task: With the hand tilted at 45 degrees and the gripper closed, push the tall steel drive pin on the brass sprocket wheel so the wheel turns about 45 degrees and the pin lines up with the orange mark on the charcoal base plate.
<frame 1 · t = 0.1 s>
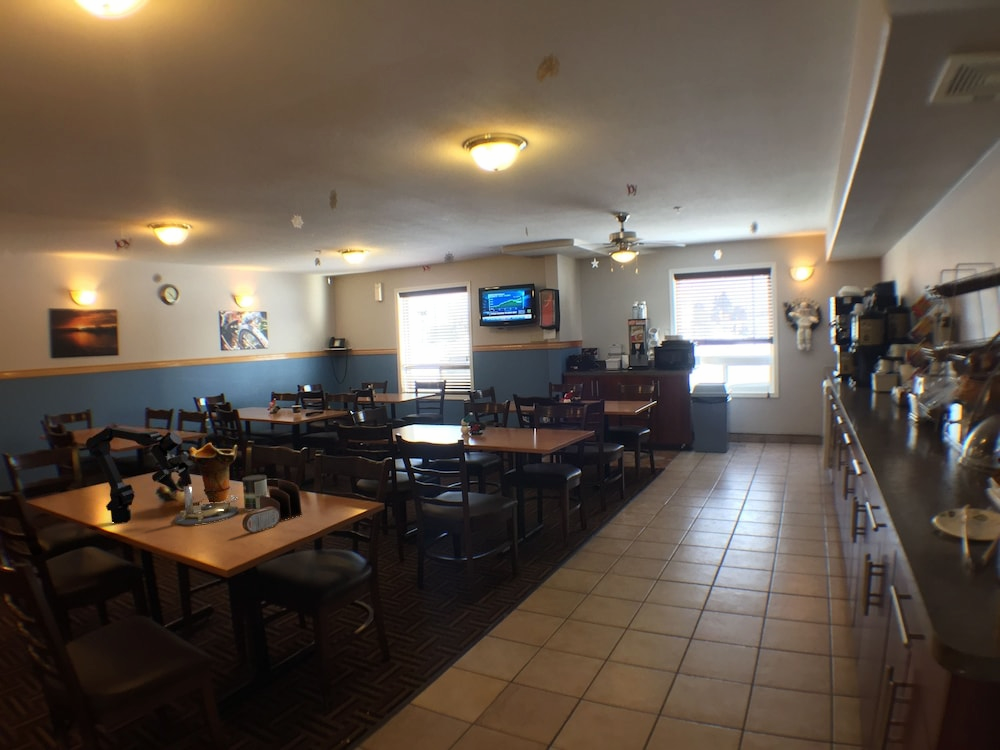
hand: (183, 487, 253), 15 cm above the table, tool tilted 35°, fingers open, 9 cm apart
letter holder: (280, 515, 257), on the table
base plate: (207, 516, 260), on the table
decorative vase: (217, 501, 286), on the table
tin: (262, 530, 237), on the table
coffee can: (256, 508, 270), on the table
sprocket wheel: (205, 497, 259), point 8 cm above the table, hinge at 0.0°
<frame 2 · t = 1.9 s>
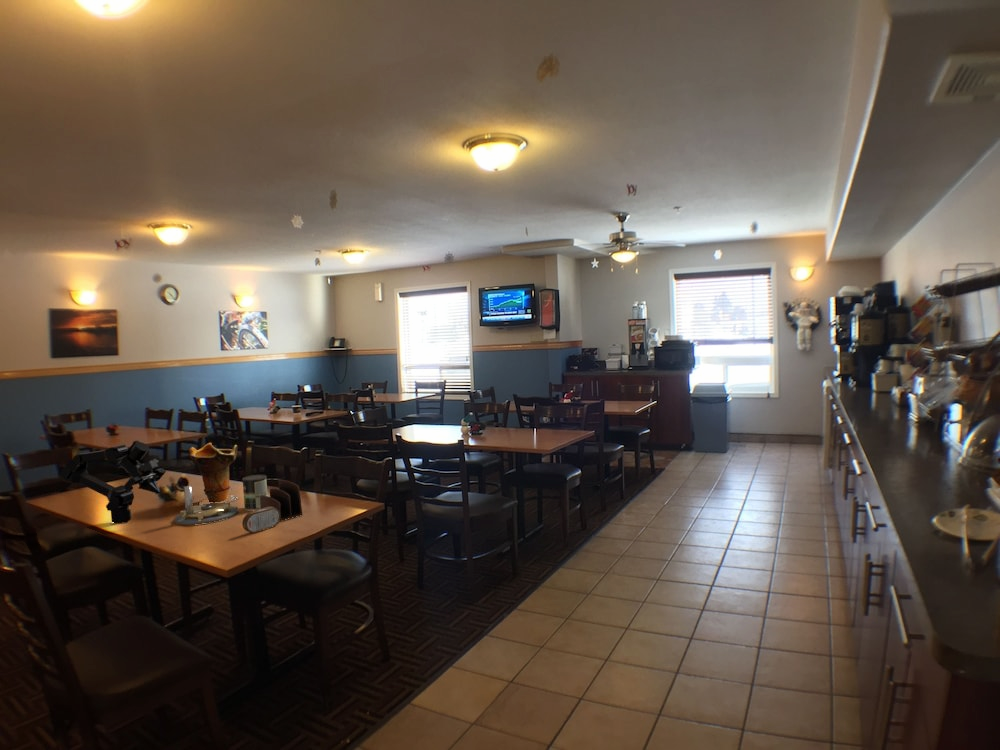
hand: (159, 492, 254), 13 cm above the table, tool tilted 45°, fingers closed
nothing on the table moved.
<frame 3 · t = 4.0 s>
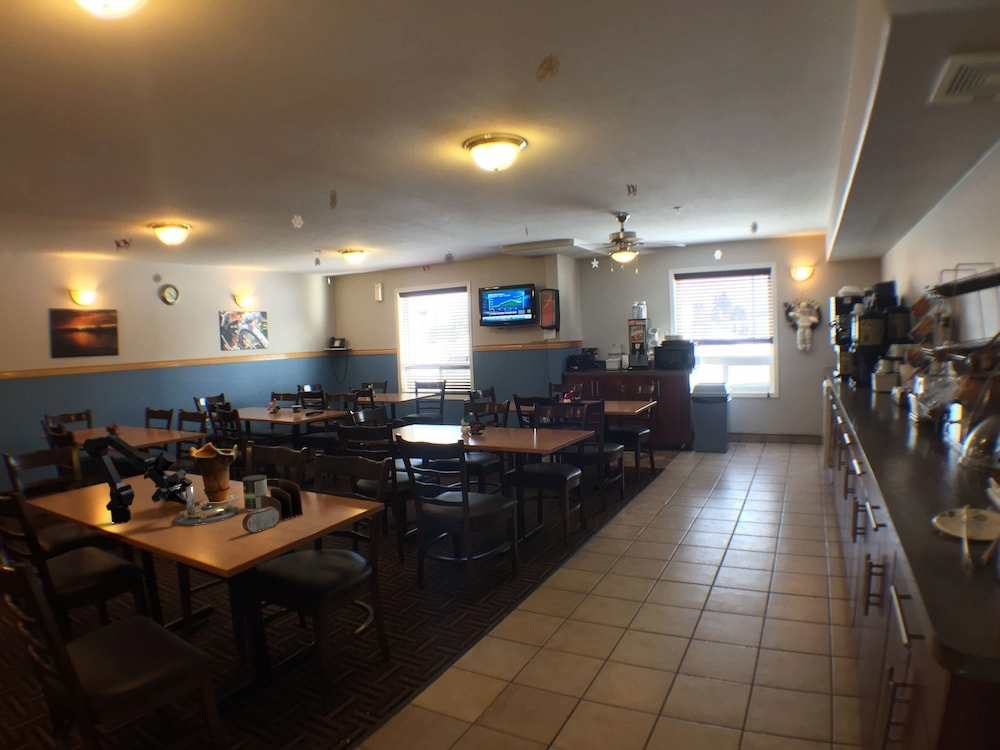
hand: (185, 504, 252), 8 cm above the table, tool tilted 45°, fingers closed, pressing on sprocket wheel
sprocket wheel: (205, 497, 259), point 8 cm above the table, hinge at 7.6°, touching gripper
everything else where it was.
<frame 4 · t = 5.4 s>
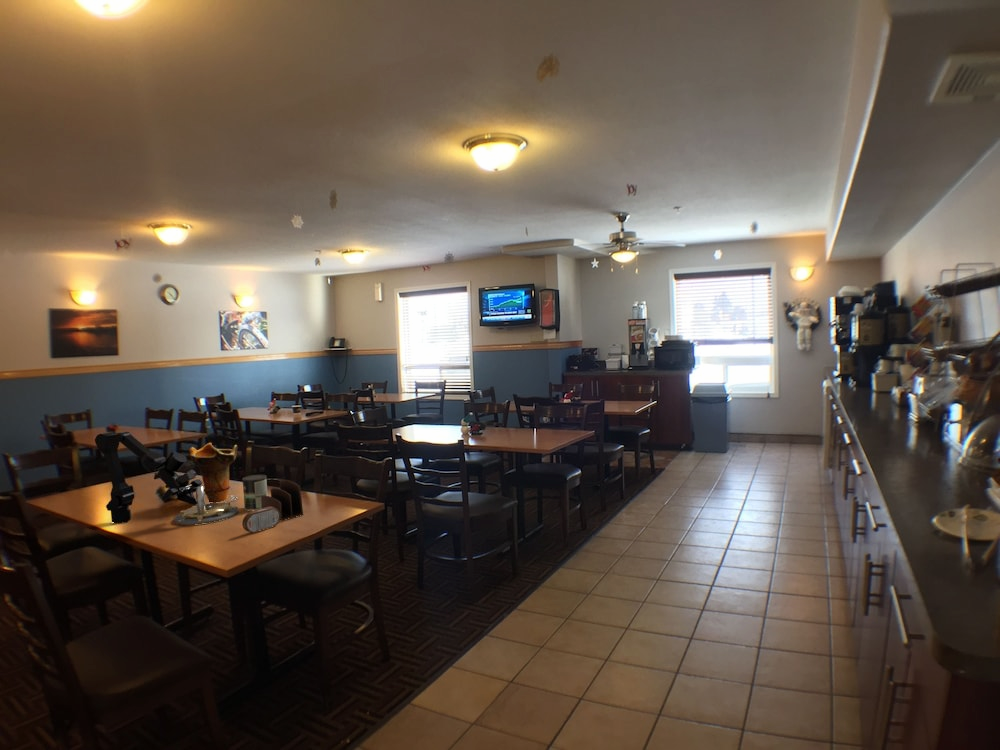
hand: (196, 504, 251), 8 cm above the table, tool tilted 45°, fingers closed
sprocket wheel: (205, 497, 259), point 8 cm above the table, hinge at 43.7°, touching gripper
everything else where it was.
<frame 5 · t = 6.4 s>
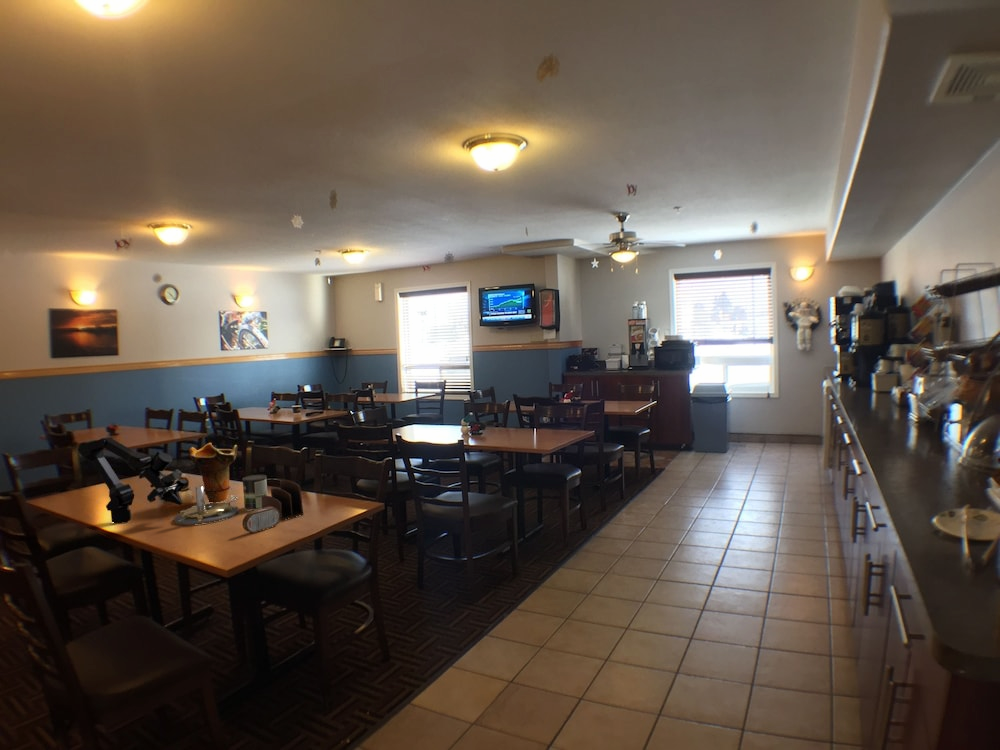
hand: (181, 504, 253), 8 cm above the table, tool tilted 45°, fingers closed
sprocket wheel: (205, 497, 259), point 8 cm above the table, hinge at 43.9°
everything else where it was.
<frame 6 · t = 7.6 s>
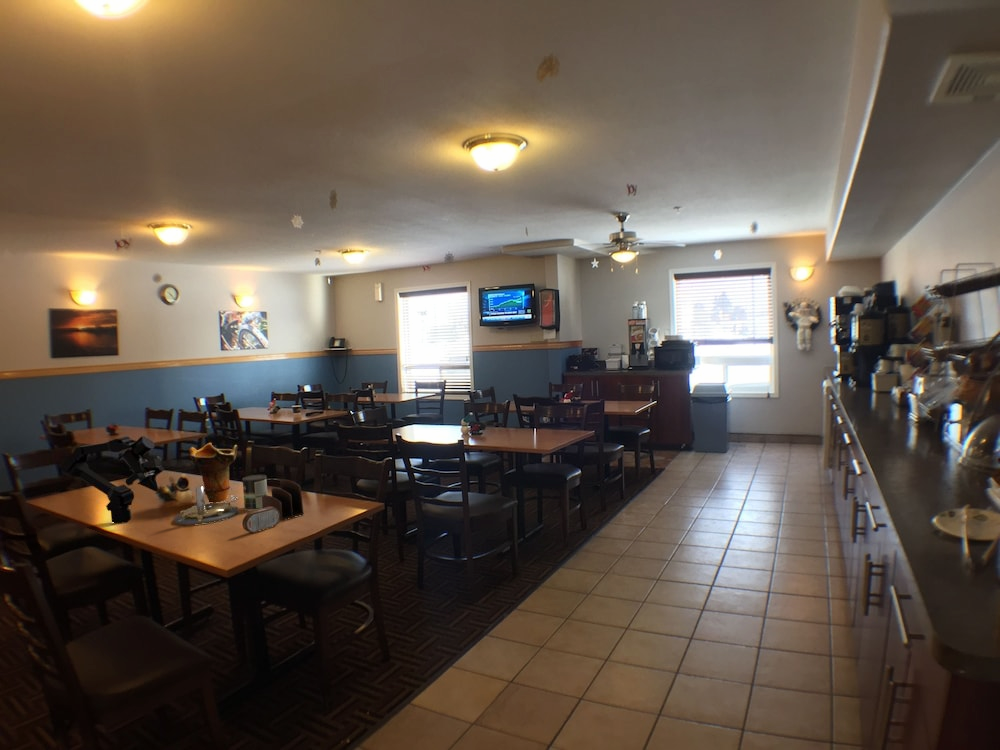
hand: (157, 490, 256), 13 cm above the table, tool tilted 35°, fingers closed
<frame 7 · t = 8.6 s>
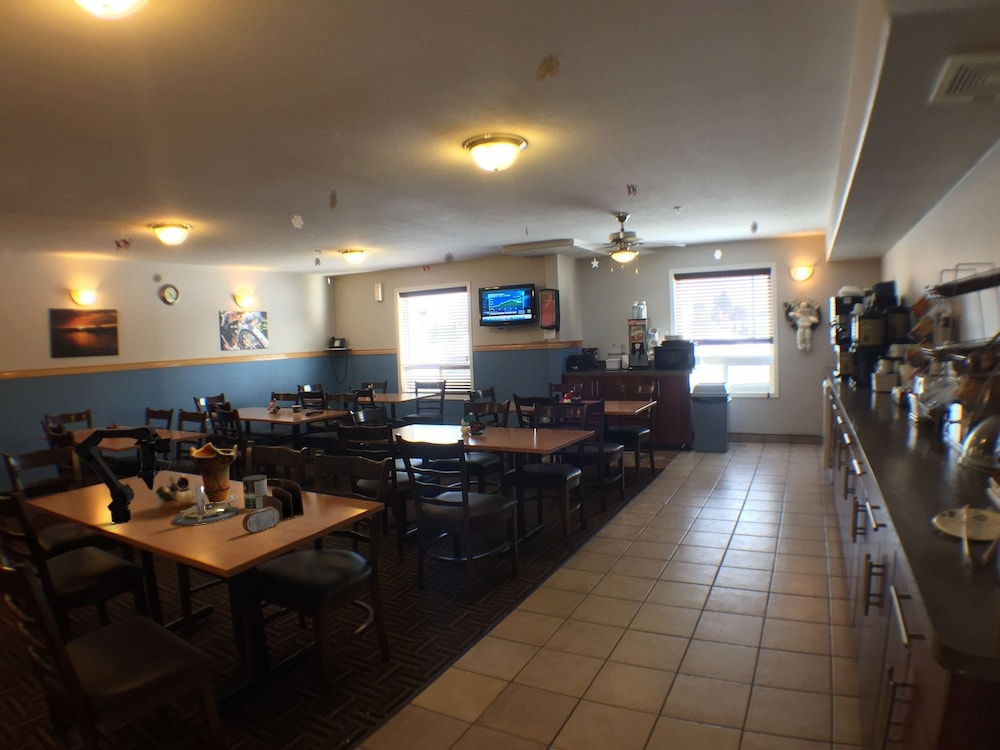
hand: (151, 489, 259), 13 cm above the table, tool pointing down, fingers closed
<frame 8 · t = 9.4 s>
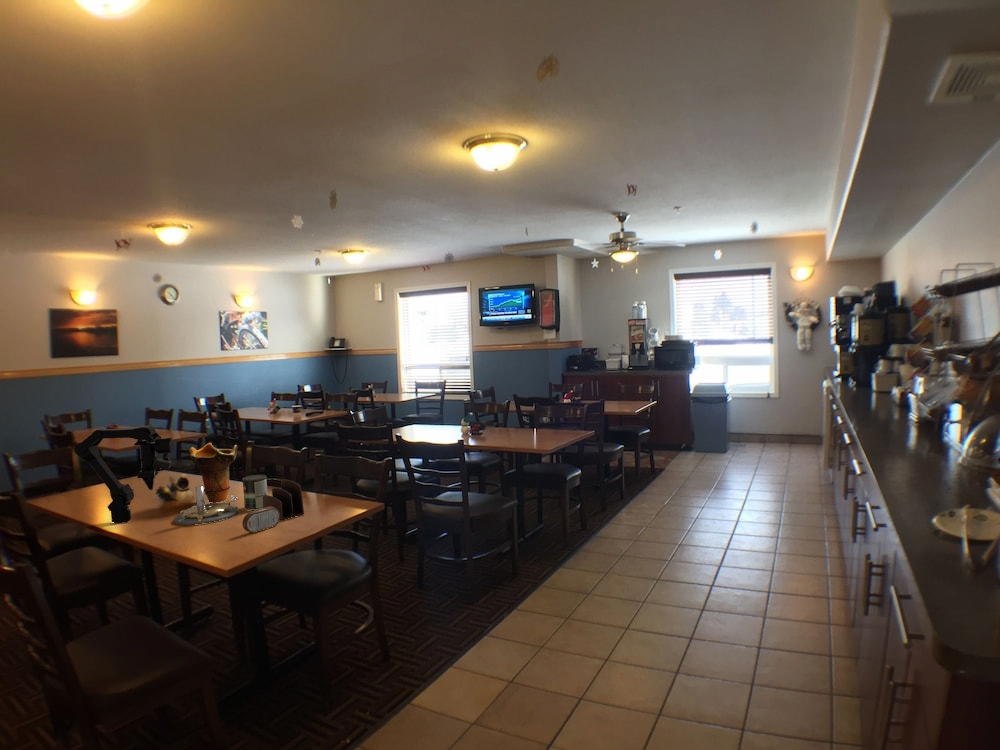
hand: (151, 489, 259), 13 cm above the table, tool pointing down, fingers closed
at the end: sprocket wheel at +44° (first picture: +0°); coffee can moved 0.2 cm from its start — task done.
